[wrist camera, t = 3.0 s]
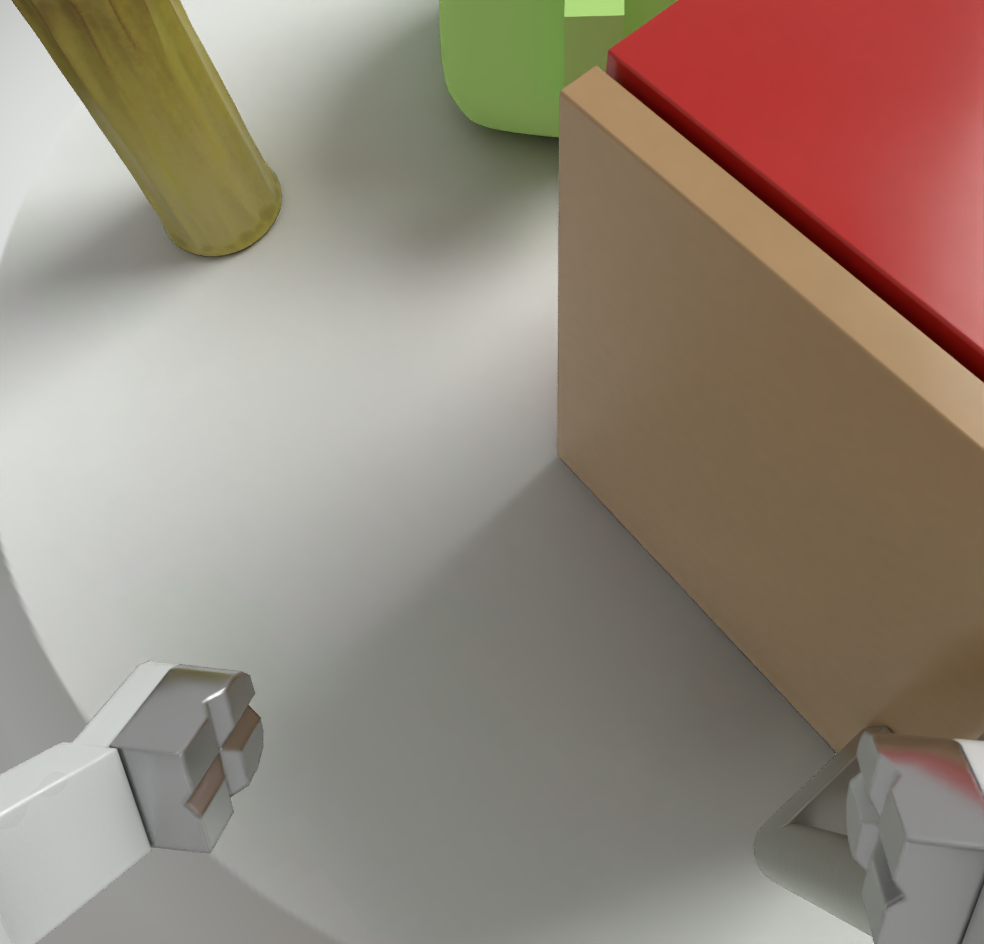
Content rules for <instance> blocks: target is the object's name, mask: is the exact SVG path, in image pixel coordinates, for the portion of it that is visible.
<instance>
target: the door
mask: <svg viewBox="0 0 984 944" xmlns="http://www.w3.org/2000/svg"><path fill="white" fill-rule="evenodd" d="M557 455H558V456H559V457H560V458H561V459H562V461H563V462H564V463H565V464H566V465H567V466H568V467H569V468H570V469H571V470H572V471H573V472H574V473H575V474H576V475H577V477H578V478H579V479H580V480H581V481H582V482H583V483H584V484H585V485H586V486H587V487H588V488H589V489H590V490H591V491H592V493H593V494H594V495H595V496H596V497H597V498H598V499H599V500H600V501H601V502H602V503H603V504H604V505H605V506H606V507H607V509H608V510H609V511H610V512H611V513H612V514H613V515H614V516H615V517H616V518H617V519H618V520H619V521H620V522H621V523H622V525H623V526H624V527H625V528H626V529H627V530H628V531H629V532H630V533H631V534H632V535H633V536H634V537H635V538H636V539H637V540H638V542H639V543H640V544H641V545H642V546H643V547H644V548H645V549H646V550H647V551H648V552H649V553H650V554H651V555H652V556H653V558H654V559H655V560H656V561H657V562H658V563H659V564H660V565H661V566H662V567H663V568H664V569H665V570H666V571H667V572H668V574H669V575H670V576H671V577H672V578H673V579H674V580H675V581H676V582H677V583H678V584H679V585H680V586H681V587H682V588H683V590H684V591H685V592H686V593H687V594H688V595H689V596H690V597H691V598H692V599H693V600H694V601H695V602H696V603H697V604H698V606H699V607H700V608H701V609H702V610H703V611H704V612H705V613H706V614H707V615H708V616H709V617H710V618H711V619H712V620H713V622H714V623H715V624H716V625H717V626H718V627H719V628H720V629H721V630H722V631H723V632H724V633H725V634H726V635H727V636H728V638H729V639H730V640H731V641H732V642H733V643H734V644H735V645H736V646H737V647H738V648H739V649H740V650H741V651H742V652H743V653H744V655H745V656H746V657H747V658H748V659H749V660H750V661H751V662H752V663H753V664H754V665H755V666H756V667H757V668H758V669H759V671H760V672H761V673H762V674H763V675H764V676H765V677H766V678H767V679H768V680H769V681H770V682H771V683H772V684H773V685H774V687H775V688H776V689H777V690H778V691H779V692H780V693H781V694H782V695H783V696H784V697H785V698H786V699H787V700H788V701H789V703H790V704H791V705H792V706H793V707H794V708H795V709H796V710H797V711H798V712H799V713H800V714H801V715H802V716H803V717H804V719H805V720H806V721H807V722H808V723H809V724H810V725H811V726H812V727H813V728H814V729H815V730H816V731H817V732H818V733H819V735H820V736H821V737H822V738H823V739H824V740H825V741H826V742H827V743H828V744H829V745H830V746H831V747H832V748H833V749H834V750H835V752H836V753H837V754H836V755H835V756H834V757H833V758H832V759H831V760H830V761H829V762H828V763H827V764H826V765H825V766H824V767H823V768H822V769H821V770H820V771H819V772H818V773H817V774H816V775H815V776H814V777H813V778H812V779H811V780H810V781H809V782H807V783H806V784H805V785H804V786H803V787H802V788H801V789H800V790H799V791H798V792H797V793H796V794H795V795H794V796H793V797H792V798H791V799H790V800H789V801H788V802H787V803H786V804H785V805H784V806H783V807H782V808H781V809H780V810H778V811H777V812H776V813H775V814H774V815H773V816H772V817H771V818H770V819H769V820H768V821H767V822H766V823H765V824H764V825H763V826H762V827H761V828H760V829H759V831H758V832H757V835H756V837H755V840H754V848H753V849H754V856H755V860H756V863H757V865H758V867H759V868H760V870H761V871H762V873H763V874H764V875H765V876H766V877H768V878H769V879H770V880H772V881H773V882H775V883H777V884H779V885H780V886H782V887H784V888H786V889H788V890H789V891H791V892H793V893H795V894H797V895H798V896H800V897H802V898H804V899H805V900H807V901H809V902H811V903H813V904H814V905H816V906H818V907H820V908H822V909H823V910H825V911H827V912H829V913H831V914H832V915H834V916H836V917H838V918H839V919H841V920H843V921H845V922H847V923H848V924H850V925H852V926H854V927H856V928H857V929H859V930H861V931H863V932H865V933H866V934H868V935H870V936H872V933H871V929H870V925H869V921H868V918H867V914H866V910H865V906H864V902H863V898H862V895H861V892H862V888H863V884H864V880H865V876H866V873H865V872H864V871H863V870H862V868H861V867H860V866H859V865H858V864H857V863H856V862H855V861H854V860H853V859H852V855H851V850H850V846H849V842H848V835H847V828H846V798H847V793H848V787H849V782H850V780H851V779H852V778H854V777H855V776H856V775H858V774H859V773H860V772H861V770H860V767H859V763H858V760H857V756H856V752H857V748H858V744H859V740H860V738H861V736H862V734H863V733H864V731H870V732H881V733H893V734H904V735H916V736H927V737H938V738H948V739H951V740H952V739H953V738H954V739H966V740H978V741H984V383H983V382H982V381H981V380H980V379H979V378H977V377H976V376H975V375H974V374H972V373H971V372H970V371H969V370H968V369H966V368H965V367H964V366H963V365H961V364H960V363H959V362H958V361H957V360H955V359H954V358H953V357H952V356H950V355H949V354H948V353H947V352H946V351H944V350H943V349H942V348H941V347H940V346H938V345H937V344H936V343H935V342H933V341H932V340H931V339H930V338H929V337H927V336H926V335H925V334H924V333H922V332H921V331H920V330H919V329H918V328H916V327H915V326H914V325H913V324H911V323H910V322H909V321H908V320H907V319H905V318H904V317H903V316H902V315H900V314H899V313H898V312H897V311H896V310H894V309H893V308H892V307H891V306H889V305H888V304H887V303H886V302H885V301H883V300H882V299H881V298H880V297H879V296H877V295H876V294H875V293H874V292H872V291H871V290H870V289H869V288H868V287H866V286H865V285H864V284H863V283H861V282H860V281H859V280H858V279H857V278H855V277H854V276H853V275H852V274H850V273H849V272H848V271H847V270H846V269H844V268H843V267H842V266H841V265H839V264H838V263H837V262H836V261H835V260H833V259H832V258H831V257H830V256H828V255H827V254H826V253H825V252H824V251H822V250H821V249H820V248H819V247H818V246H816V245H815V244H814V243H813V242H811V241H810V240H809V239H808V238H807V237H805V236H804V235H803V234H802V233H800V232H799V231H798V230H797V229H796V228H794V227H793V226H792V225H791V224H789V223H788V222H787V221H786V220H785V219H783V218H782V217H781V216H780V215H778V214H777V213H776V212H775V211H774V210H772V209H771V208H770V207H769V206H767V205H766V204H765V203H764V202H763V201H761V200H760V199H759V198H758V197H756V196H755V195H754V194H753V193H752V192H750V191H749V190H748V189H747V188H746V187H744V186H743V185H742V184H741V183H739V182H738V181H737V180H736V179H735V178H733V177H732V176H731V175H730V174H728V173H727V172H726V171H725V170H724V169H722V168H721V167H720V166H719V165H717V164H716V163H715V162H714V161H713V160H711V159H710V158H709V157H708V156H706V155H705V154H704V153H703V152H702V151H700V150H699V149H698V148H697V147H695V146H694V145H693V144H692V143H691V142H689V141H688V140H687V139H686V138H685V137H683V136H682V135H681V134H680V133H678V132H677V131H676V130H675V129H674V128H672V127H671V126H670V125H669V124H667V123H666V122H665V121H664V120H663V119H661V118H660V117H659V116H658V115H656V114H655V113H654V112H653V111H652V110H650V109H649V108H648V107H647V106H645V105H644V104H643V103H642V102H641V101H639V100H638V99H637V98H636V97H634V96H633V95H632V94H631V93H630V92H628V91H627V90H626V89H625V88H624V87H622V86H621V85H620V84H619V83H617V82H616V81H615V80H614V79H613V78H611V77H610V76H609V75H608V74H606V73H605V72H604V71H603V70H602V69H600V68H599V67H598V66H594V67H592V68H591V69H590V70H588V71H587V72H585V73H584V74H583V75H581V76H580V77H578V78H577V79H576V80H574V81H573V82H571V83H570V84H569V85H567V86H566V87H564V88H563V89H562V90H561V91H560V93H559V226H558V393H557Z"/></svg>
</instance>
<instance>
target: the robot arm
mask: <svg viewBox="0 0 984 944" xmlns="http://www.w3.org/2000/svg"><path fill="white" fill-rule="evenodd" d="M254 694H255V691H254V687H253V684H252V680H251V677H250V675H248V674H246V673H244V672H242V671H234V670H225V669H217V668H209V667H201V666H193V665H185V664H179V665H177V664H170V663H162V662H154V661H147V662H145V663H143V664H140V665H138V666H137V667H136V668H135V669H134V671H133V672H132V673H131V674H130V675H129V676H128V678H127V679H126V680H125V681H124V682H123V683H122V685H121V686H120V687H119V688H118V689H117V690H116V692H115V693H114V694H113V695H112V696H111V697H110V699H109V700H108V701H107V702H106V703H105V704H104V706H103V707H102V708H101V709H100V710H99V711H98V713H97V714H96V715H95V716H94V717H93V718H92V720H91V721H90V722H89V723H88V724H87V725H86V727H85V728H84V729H83V730H82V731H81V732H80V734H79V735H78V736H77V737H76V738H75V739H74V741H73V742H72V743H65V742H60V743H59V744H57V745H55V746H53V747H51V748H49V749H47V750H45V751H43V752H42V753H40V754H38V755H36V756H34V757H32V758H30V759H28V760H27V761H24V762H22V763H21V764H19V765H17V766H15V767H13V768H11V769H9V770H7V771H5V772H3V773H1V774H0V944H36V943H37V942H39V941H40V940H41V939H42V938H44V937H45V936H46V935H47V934H49V933H50V932H51V931H52V930H53V929H55V928H56V927H57V926H59V925H60V924H61V923H62V922H64V921H65V920H66V919H67V918H68V917H70V916H71V915H72V914H74V913H75V912H76V911H77V910H79V909H80V908H81V907H82V906H83V905H85V904H86V903H87V902H88V901H90V900H91V899H92V898H94V897H95V896H96V895H97V894H99V893H100V892H101V891H102V890H104V888H106V887H107V886H108V885H110V884H111V883H112V882H113V881H115V880H116V879H117V878H118V877H120V876H121V875H122V874H123V873H125V872H126V871H127V870H128V869H130V868H131V867H132V866H133V865H135V864H136V863H137V862H138V861H140V860H141V859H142V858H143V857H145V856H146V855H147V854H148V853H150V852H151V850H152V849H151V847H155V848H164V849H173V850H182V851H192V852H201V853H211V852H212V850H213V848H214V846H215V845H216V843H217V841H218V839H219V837H220V836H221V834H222V832H223V830H224V829H225V827H226V825H227V823H228V821H229V820H230V818H231V816H232V814H233V813H234V811H233V806H232V801H231V797H232V796H234V795H235V794H237V793H238V792H239V791H241V790H242V789H244V788H245V787H247V786H248V785H249V784H250V782H251V780H252V778H253V776H254V774H255V772H256V770H257V769H258V765H259V761H260V758H261V754H262V750H263V727H262V722H261V717H260V716H259V715H258V714H257V713H256V712H255V711H254V710H253V709H252V708H251V707H250V706H249V705H248V704H249V703H250V701H251V699H252V698H253V696H254ZM856 756H857V760H858V763H859V767H860V770H861V772H860V773H859V774H858V775H856V776H855V777H854V778H852V779H851V780H850V782H849V787H848V793H847V798H846V828H847V835H848V842H849V846H850V850H851V855H852V859H853V860H854V861H855V862H856V863H857V864H858V865H859V866H860V867H861V868H862V870H863V871H864V872H865V873H866V876H865V880H864V884H863V888H862V892H861V895H862V898H863V902H864V906H865V910H866V914H867V918H868V921H869V925H870V929H871V933H872V937H873V941H874V944H984V741H978V740H966V739H954V738H953V739H952V740H951V739H948V738H938V737H927V736H916V735H904V734H893V733H881V732H870V731H864V733H863V734H862V736H861V738H860V740H859V744H858V748H857V752H856Z"/></svg>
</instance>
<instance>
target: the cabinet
mask: <svg viewBox="0 0 984 944" xmlns="http://www.w3.org/2000/svg"><path fill="white" fill-rule="evenodd" d="M606 74H608V75H609V76H610V77H611V78H613V79H614V80H615V81H616V82H617V83H619V84H620V85H621V86H622V87H624V88H625V89H626V90H627V91H628V92H630V93H631V94H632V95H633V96H634V97H636V98H637V99H638V100H639V101H641V102H642V103H643V104H644V105H645V106H647V107H648V108H649V109H650V110H652V111H653V112H654V113H655V114H656V115H658V116H659V117H660V118H661V119H663V120H664V121H665V122H666V123H667V124H669V125H670V126H671V127H672V128H674V129H675V130H676V131H677V132H678V133H680V134H681V135H682V136H683V137H685V138H686V139H687V140H688V141H689V142H691V143H692V144H693V145H694V146H695V147H697V148H698V149H699V150H700V151H702V152H703V153H704V154H705V155H706V156H708V157H709V158H710V159H711V160H713V161H714V162H715V163H716V164H717V165H719V166H720V167H721V168H722V169H724V170H725V171H726V172H727V173H728V174H730V175H731V176H732V177H733V178H735V179H736V180H737V181H738V182H739V183H741V184H742V185H743V186H744V187H746V188H747V189H748V190H749V191H750V192H752V193H753V194H754V195H755V196H756V197H758V198H759V199H760V200H761V201H763V202H764V203H765V204H766V205H767V206H769V207H770V208H771V209H772V210H774V211H775V212H776V213H777V214H778V215H780V216H781V217H782V218H783V219H785V220H786V221H787V222H788V223H789V224H791V225H792V226H793V227H794V228H796V229H797V230H798V231H799V232H800V233H802V234H803V235H804V236H805V237H807V238H808V239H809V240H810V241H811V242H813V243H814V244H815V245H816V246H818V247H819V248H820V249H821V250H822V251H824V252H825V253H826V254H827V255H828V256H830V257H831V258H832V259H833V260H835V261H836V262H837V263H838V264H839V265H841V266H842V267H843V268H844V269H846V270H847V271H848V272H849V273H850V274H852V275H853V276H854V277H855V278H857V279H858V280H859V281H860V282H861V283H863V284H864V285H865V286H866V287H868V288H869V289H870V290H871V291H872V292H874V293H875V294H876V295H877V296H879V297H880V298H881V299H882V300H883V301H885V302H886V303H887V304H888V305H889V306H891V307H892V308H893V309H894V310H896V311H897V312H898V313H899V314H900V315H902V316H903V317H904V318H905V319H907V320H908V321H909V322H910V323H911V324H913V325H914V326H915V327H916V328H918V329H919V330H920V331H921V332H922V333H924V334H925V335H926V336H927V337H929V338H930V339H931V340H932V341H933V342H935V343H936V344H937V345H938V346H940V347H941V348H942V349H943V350H944V351H946V352H947V353H948V354H949V355H950V356H952V357H953V358H954V359H955V360H957V361H958V362H959V363H960V364H961V365H963V366H964V367H965V368H966V369H968V370H969V371H970V372H971V373H972V374H974V375H975V376H976V377H977V378H979V379H980V380H981V381H982V382H983V383H984V0H677V1H676V2H675V3H673V4H672V5H670V6H669V7H668V8H666V9H665V10H663V11H662V12H661V13H659V14H658V15H656V16H655V17H654V18H652V19H651V20H649V21H648V22H647V23H645V24H644V25H642V26H641V27H640V28H638V29H637V30H635V31H634V32H633V33H631V34H630V35H628V36H627V37H626V38H624V39H623V40H621V41H620V42H619V43H617V44H616V45H614V46H613V47H612V48H610V49H609V50H608V52H607V64H606Z"/></svg>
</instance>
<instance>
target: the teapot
mask: <svg viewBox="0 0 984 944" xmlns="http://www.w3.org/2000/svg"><path fill="white" fill-rule="evenodd" d="M676 1H677V0H440V15H439V20H440V47H441V59H442V66H443V73H444V77H445V81H446V85H447V88H448V90H449V93H450V95H451V96H452V98H453V99H454V101H455V102H456V104H457V105H458V106H459V108H460V109H461V110H462V112H463V113H464V114H465V115H466V116H467V117H468V118H469V119H470V120H471V121H473V122H475V123H476V124H479V125H482V126H485V127H488V128H492V129H497V130H503V131H508V132H515V133H523V134H530V135H539V136H548V137H559V93H560V91H561V90H562V89H563V88H564V87H566V86H567V85H569V84H570V83H571V82H573V81H574V80H576V79H577V78H578V77H580V76H581V75H583V74H584V73H585V72H587V71H588V70H590V69H591V68H592V67H594V66H598V67H599V68H600V69H602V70H603V71H604V72H605V73H606V64H607V52H608V50H609V49H610V48H612V47H613V46H614V45H616V44H617V43H619V42H620V41H621V40H623V39H624V38H626V37H627V36H628V35H630V34H631V33H633V32H634V31H635V30H637V29H638V28H640V27H641V26H642V25H644V24H645V23H647V22H648V21H649V20H651V19H652V18H654V17H655V16H656V15H658V14H659V13H661V12H662V11H663V10H665V9H666V8H668V7H669V6H670V5H672V4H673V3H675V2H676Z"/></svg>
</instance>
